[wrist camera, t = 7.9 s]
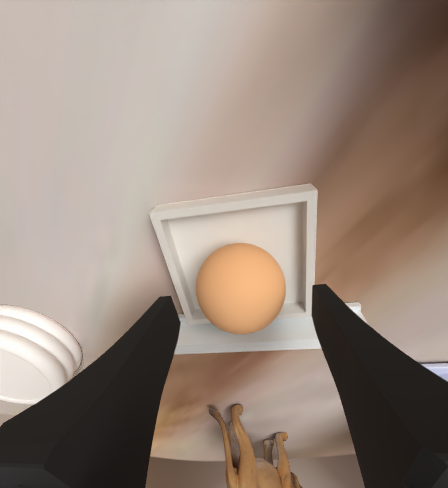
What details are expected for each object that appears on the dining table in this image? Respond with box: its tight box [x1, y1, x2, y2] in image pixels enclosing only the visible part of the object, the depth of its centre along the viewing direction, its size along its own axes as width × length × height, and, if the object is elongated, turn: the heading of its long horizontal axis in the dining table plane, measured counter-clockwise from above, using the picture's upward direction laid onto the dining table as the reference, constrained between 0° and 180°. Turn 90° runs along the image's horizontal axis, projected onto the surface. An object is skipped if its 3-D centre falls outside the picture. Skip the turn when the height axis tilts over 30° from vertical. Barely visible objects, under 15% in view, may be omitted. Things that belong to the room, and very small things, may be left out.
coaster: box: [0, 305, 82, 404], centre depth 20 cm, size 10×10×4 cm
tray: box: [149, 183, 318, 325], centre depth 15 cm, size 9×9×1 cm
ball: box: [196, 243, 286, 334], centre depth 13 cm, size 5×5×5 cm
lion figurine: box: [209, 404, 302, 488], centre depth 23 cm, size 15×5×9 cm, turn 52°
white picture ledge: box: [174, 302, 368, 355], centre depth 17 cm, size 2×15×2 cm, turn 100°
